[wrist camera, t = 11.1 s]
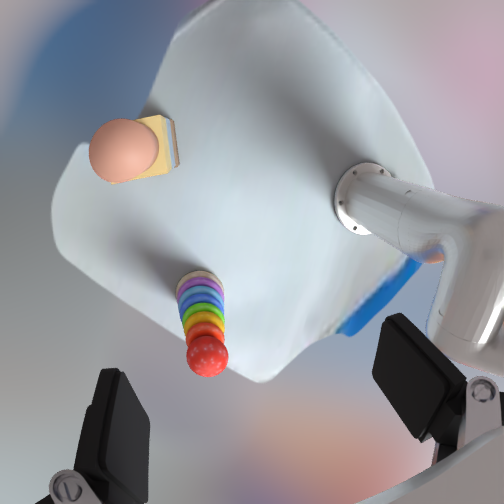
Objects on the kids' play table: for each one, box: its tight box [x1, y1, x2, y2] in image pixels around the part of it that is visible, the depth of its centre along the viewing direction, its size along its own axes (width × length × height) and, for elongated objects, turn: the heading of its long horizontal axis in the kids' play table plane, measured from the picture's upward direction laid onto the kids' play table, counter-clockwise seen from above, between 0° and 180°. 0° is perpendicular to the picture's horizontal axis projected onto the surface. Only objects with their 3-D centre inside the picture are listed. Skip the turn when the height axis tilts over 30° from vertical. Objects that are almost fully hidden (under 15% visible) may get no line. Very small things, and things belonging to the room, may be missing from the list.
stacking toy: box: [176, 271, 228, 377], centre depth 40 cm, size 8×8×19 cm
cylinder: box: [89, 119, 159, 183], centre depth 22 cm, size 5×5×6 cm
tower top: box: [111, 115, 172, 185], centre depth 27 cm, size 6×6×5 cm
